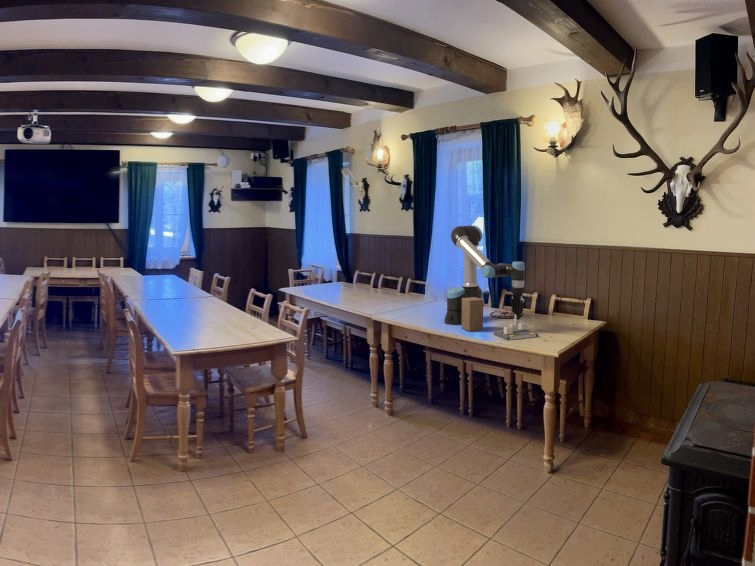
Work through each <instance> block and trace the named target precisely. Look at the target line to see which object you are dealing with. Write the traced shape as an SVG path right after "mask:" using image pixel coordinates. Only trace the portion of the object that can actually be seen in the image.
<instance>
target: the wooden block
mask: <svg viewBox="0 0 755 566" xmlns="http://www.w3.org/2000/svg"><path fill="white" fill-rule="evenodd" d="M461 329H462V330H465V332H469V333H472V332H481V331H483V330H484V299H483V298H482V299H480V298H477V297H470V298H462V325H461Z"/></svg>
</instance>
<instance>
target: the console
mask: <svg viewBox="0 0 755 566" xmlns="http://www.w3.org/2000/svg"><path fill="white" fill-rule="evenodd" d="M493 336H495V337H497V338H501V339H503V340H505V341H513V340H519V339H520V340H521V339H530V338H538V337H539V333H538V332H535V331H533V330H530V329H527V330H519V328H518V331H514V332H512V334H507V335H506V334H504V330H498V331H493Z"/></svg>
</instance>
